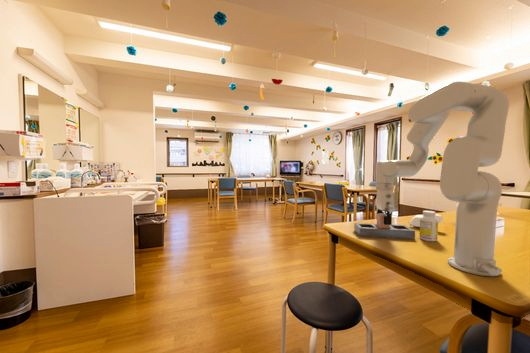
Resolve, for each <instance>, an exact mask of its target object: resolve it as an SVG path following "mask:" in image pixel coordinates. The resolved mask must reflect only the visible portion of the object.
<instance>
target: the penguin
mask: <svg viewBox="0 0 530 353" xmlns="http://www.w3.org/2000/svg"><path fill="white" fill-rule="evenodd" d="M422 216H423V214H416V215H415V216H413V217H412V218H411V220H410V221H409V222H408V224H409V225H408V226H409V228H412V226H413V227H415V228H420V217H422ZM435 217H436V218H437V219H438V224H441V223H442V222H443V220H444V218H443V216H442V215H441V214H439V213H436V215H435Z"/></svg>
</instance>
